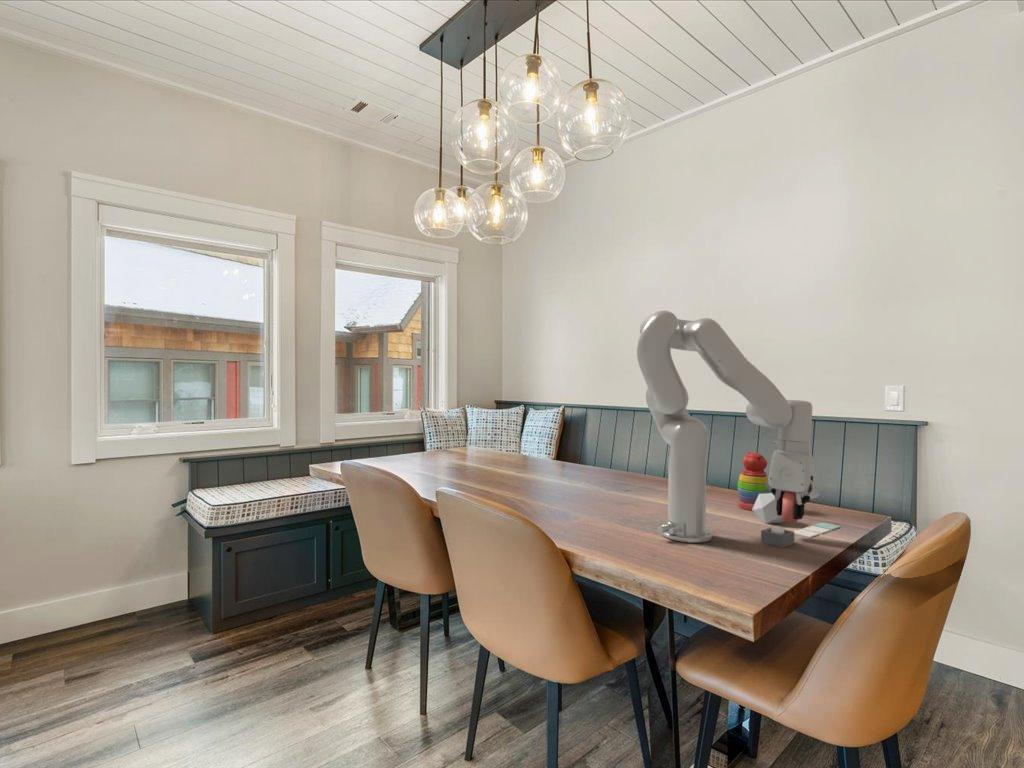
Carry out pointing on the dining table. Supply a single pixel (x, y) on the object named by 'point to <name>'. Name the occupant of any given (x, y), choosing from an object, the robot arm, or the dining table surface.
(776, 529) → the dome
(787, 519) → the pawn
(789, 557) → the dining table surface
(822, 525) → the tile
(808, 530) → the track
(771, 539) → the grey square tray
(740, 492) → the stacking bear
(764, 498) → the die
